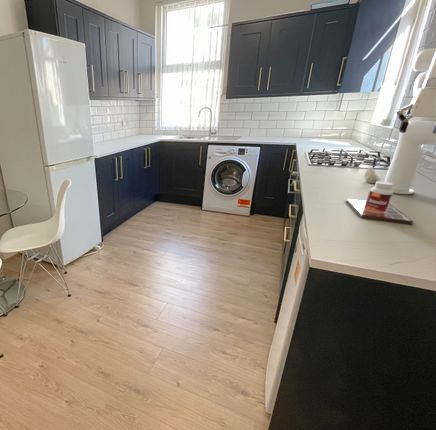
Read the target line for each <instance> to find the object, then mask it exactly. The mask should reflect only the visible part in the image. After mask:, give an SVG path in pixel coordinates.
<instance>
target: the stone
mask: <svg viewBox="0 0 436 430" xmlns="http://www.w3.org/2000/svg"><path fill="white" fill-rule="evenodd" d="M363 178H364V180H365V182H367V183H369V184H376V182H377V181H382V180H381V178H380V177H379V176H378V174H377V173H376V171H375V170H374V169H373V167H372V166H368V168H367V169H366V171H365V173H364V175H363Z"/></svg>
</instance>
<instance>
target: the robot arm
mask: <svg viewBox="0 0 436 430" xmlns="http://www.w3.org/2000/svg"><path fill="white" fill-rule="evenodd" d="M412 68H413V71H414V72H421V73H419V74H418V75H417V77H416V79H415V81H414V83H413V89H412V95H413V97H412V99H411V101H410V103H409V105H406V106H403V107H400V108H398V109H396V115H397V118H398V119H399V120H400V122H401V123H400V124H399V128H398V131H399V133H398V139H397V142H396V143H397V144H396V147H395V150H394V153H393V156H392V159H391V160H390V164H389V166H388V169H387V172H386V174H385V177H384V181H383V182H389V183H392V184H393V187H392V188H391V190H392V191H393V194H395V195H396V194H397V195H413V194H414V193H415V190H414V189H412V188H411V187H412V185H413V183H414V181H415V178H416V176H417V174H418V170H419V168H420V166H421V163H422V161H423V158H424V153H425V152H424V150H423V149H422V148H421V147H420V145H430V146H436V47H434V48H424V49H422V50H420V51H419V52H418V53H417V55H416V56H415V58H414V61H413V64H412ZM405 111H406V112H405ZM404 112H405V115H404Z"/></svg>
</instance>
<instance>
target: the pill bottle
mask: <svg viewBox="0 0 436 430" xmlns="http://www.w3.org/2000/svg"><path fill="white" fill-rule="evenodd" d="M392 187H393V184H392V183H389V182H384V181H382V180H381V181H377V182H376V183H374V186H373V187H371V188H370V190H369V193H368V195H367V198H366V200H365V201H366V203H365V205H364V210H365V211H367V212H371V213H376V214H383V213H385V211H386V209H387V206H388V204H390V201H391V200H392V196H393V194H394V193H393V191H392V190H391V188H392Z"/></svg>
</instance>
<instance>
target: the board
mask: <svg viewBox="0 0 436 430" xmlns="http://www.w3.org/2000/svg"><path fill="white" fill-rule="evenodd" d="M346 203H347V204H348V206H350V208H351V209H352V210H353V211H354V212H355V213H356V214H357V215H358V217H359V218H360V219H365V220H373V221H382V222H389V223H396V224H397V223H398V224H404V225H405V224H406V225H413V222H414V221H413V220H412V219H410V218H409V217H408V216H406V215H405V214H404V213H403V212H401V211H400V210H399V209H397V208H396V207H395V206H394V205H392V204H391V203H389V204H388V206H387V209H386V211H385V213H383V214H376V213H371V212H367V211H365V210H364V205H365V203H366V200H361V199H360V200H359V199H353V198H352V199H351V198H346Z"/></svg>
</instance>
